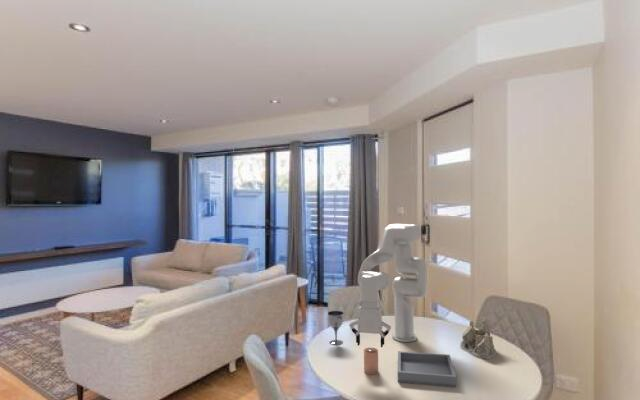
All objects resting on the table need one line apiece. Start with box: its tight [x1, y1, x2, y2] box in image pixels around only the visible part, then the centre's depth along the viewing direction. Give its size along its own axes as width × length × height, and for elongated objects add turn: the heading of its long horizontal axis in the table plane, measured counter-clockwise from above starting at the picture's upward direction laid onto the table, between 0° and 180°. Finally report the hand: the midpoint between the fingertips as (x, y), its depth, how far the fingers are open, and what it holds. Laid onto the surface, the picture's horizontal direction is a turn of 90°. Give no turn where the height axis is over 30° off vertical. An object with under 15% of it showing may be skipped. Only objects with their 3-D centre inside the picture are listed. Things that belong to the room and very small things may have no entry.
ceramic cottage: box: [460, 317, 497, 360], centre depth 172 cm, size 16×16×15 cm
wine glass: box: [327, 310, 344, 346], centre depth 185 cm, size 8×8×15 cm
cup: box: [363, 346, 379, 376], centre depth 153 cm, size 6×6×9 cm
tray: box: [397, 350, 457, 388], centre depth 151 cm, size 20×22×4 cm
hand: (370, 345), depth 153 cm, fingers open, 9 cm apart
